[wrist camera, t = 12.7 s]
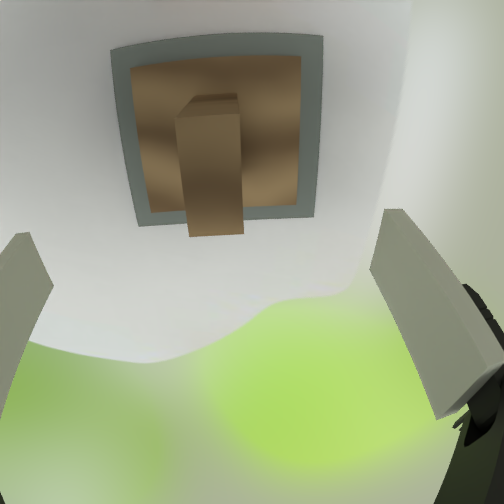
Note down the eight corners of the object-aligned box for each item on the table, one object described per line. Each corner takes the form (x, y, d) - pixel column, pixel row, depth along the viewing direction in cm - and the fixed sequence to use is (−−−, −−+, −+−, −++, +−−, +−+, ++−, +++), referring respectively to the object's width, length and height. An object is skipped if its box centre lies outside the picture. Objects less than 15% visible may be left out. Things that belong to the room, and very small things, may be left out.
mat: (112, 50, 19) (110, 50, 19) (321, 36, 20) (323, 35, 20) (140, 223, 30) (138, 226, 29) (312, 214, 30) (313, 217, 30)
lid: (134, 67, 20) (78, 79, 12) (297, 56, 21) (339, 58, 12) (153, 206, 28) (124, 278, 20) (293, 198, 28) (320, 269, 20)
